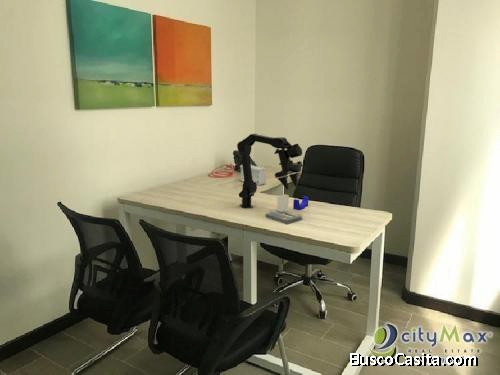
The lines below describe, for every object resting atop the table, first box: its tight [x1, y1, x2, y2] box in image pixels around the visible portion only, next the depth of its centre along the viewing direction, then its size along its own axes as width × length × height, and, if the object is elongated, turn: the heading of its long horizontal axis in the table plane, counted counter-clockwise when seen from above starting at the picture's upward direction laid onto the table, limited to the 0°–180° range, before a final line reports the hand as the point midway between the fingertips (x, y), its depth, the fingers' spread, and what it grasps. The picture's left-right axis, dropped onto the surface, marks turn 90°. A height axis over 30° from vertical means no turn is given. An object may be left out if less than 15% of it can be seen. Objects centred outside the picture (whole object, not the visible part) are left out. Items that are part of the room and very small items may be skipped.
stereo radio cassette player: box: [239, 163, 267, 186], centre depth 305 cm, size 21×8×20 cm, turn 46°
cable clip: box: [292, 195, 309, 211], centre depth 241 cm, size 12×4×6 cm, turn 141°
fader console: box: [265, 208, 303, 225], centre depth 219 cm, size 16×12×3 cm
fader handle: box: [276, 193, 290, 214], centre depth 219 cm, size 3×6×11 cm, turn 131°
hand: (291, 187), depth 221 cm, fingers open, 9 cm apart
